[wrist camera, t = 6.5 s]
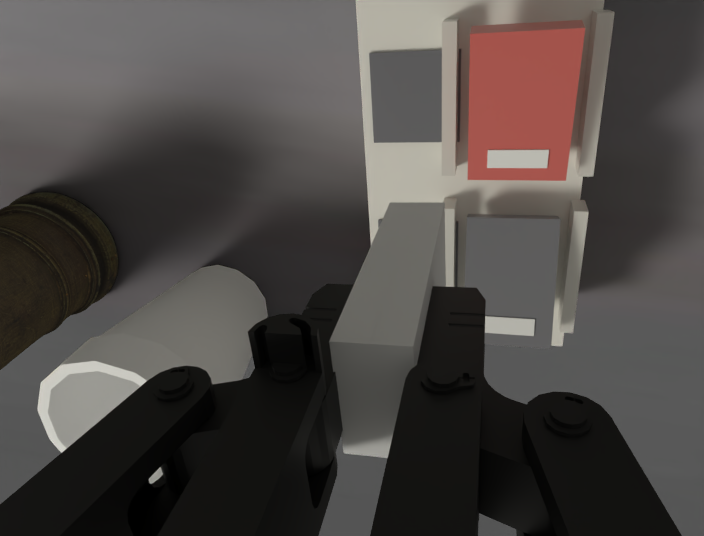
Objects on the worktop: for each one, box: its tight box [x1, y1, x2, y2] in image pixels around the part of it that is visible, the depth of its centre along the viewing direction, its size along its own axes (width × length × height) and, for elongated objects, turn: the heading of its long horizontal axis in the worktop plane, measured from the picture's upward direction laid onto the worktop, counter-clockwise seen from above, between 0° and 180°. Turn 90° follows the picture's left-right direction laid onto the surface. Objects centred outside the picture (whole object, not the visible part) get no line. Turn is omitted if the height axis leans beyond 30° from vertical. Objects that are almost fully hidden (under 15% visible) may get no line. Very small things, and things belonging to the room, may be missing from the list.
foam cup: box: [37, 265, 268, 484], centre depth 35 cm, size 10×9×13 cm
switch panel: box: [356, 0, 615, 346], centre depth 26 cm, size 27×10×6 cm, turn 4°
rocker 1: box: [468, 20, 585, 181], centre depth 23 cm, size 6×4×1 cm, turn 4°
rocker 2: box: [465, 214, 561, 349], centre depth 26 cm, size 6×4×1 cm, turn 5°
